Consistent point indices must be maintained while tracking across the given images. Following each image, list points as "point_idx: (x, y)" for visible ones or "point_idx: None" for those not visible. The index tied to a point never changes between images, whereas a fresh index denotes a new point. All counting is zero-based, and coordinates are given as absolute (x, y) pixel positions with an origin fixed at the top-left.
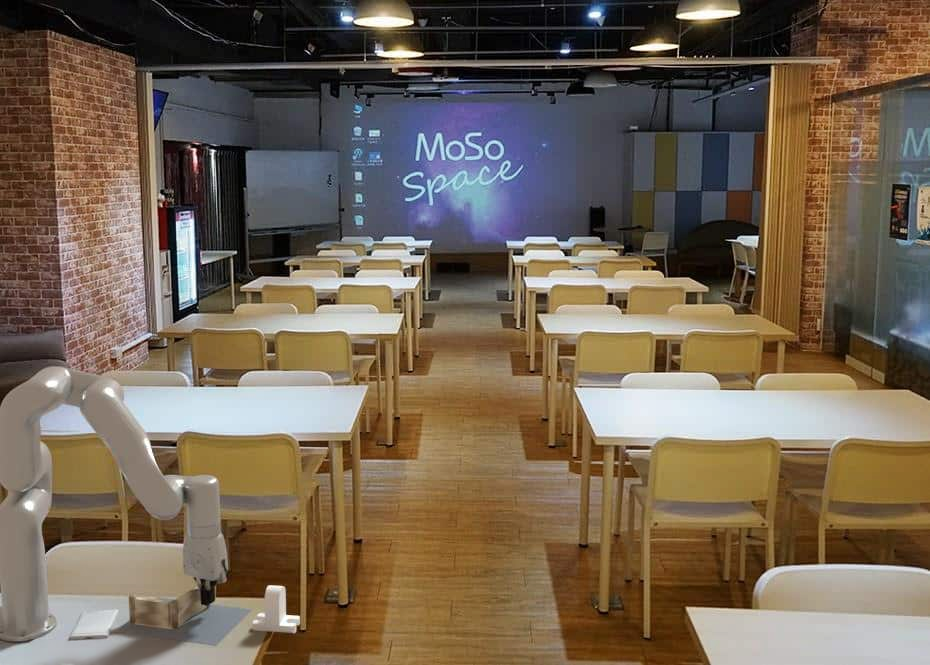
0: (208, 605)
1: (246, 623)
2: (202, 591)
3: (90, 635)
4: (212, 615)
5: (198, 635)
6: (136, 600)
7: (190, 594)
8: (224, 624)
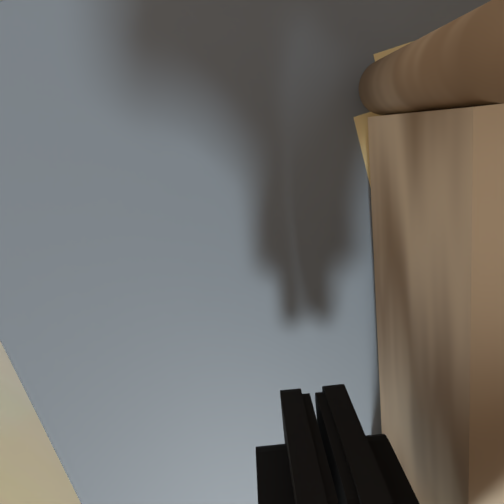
0: None
1: (5, 430)
2: (352, 488)
3: None
4: (272, 385)
5: (112, 100)
6: None
7: (459, 373)
8: (95, 336)
